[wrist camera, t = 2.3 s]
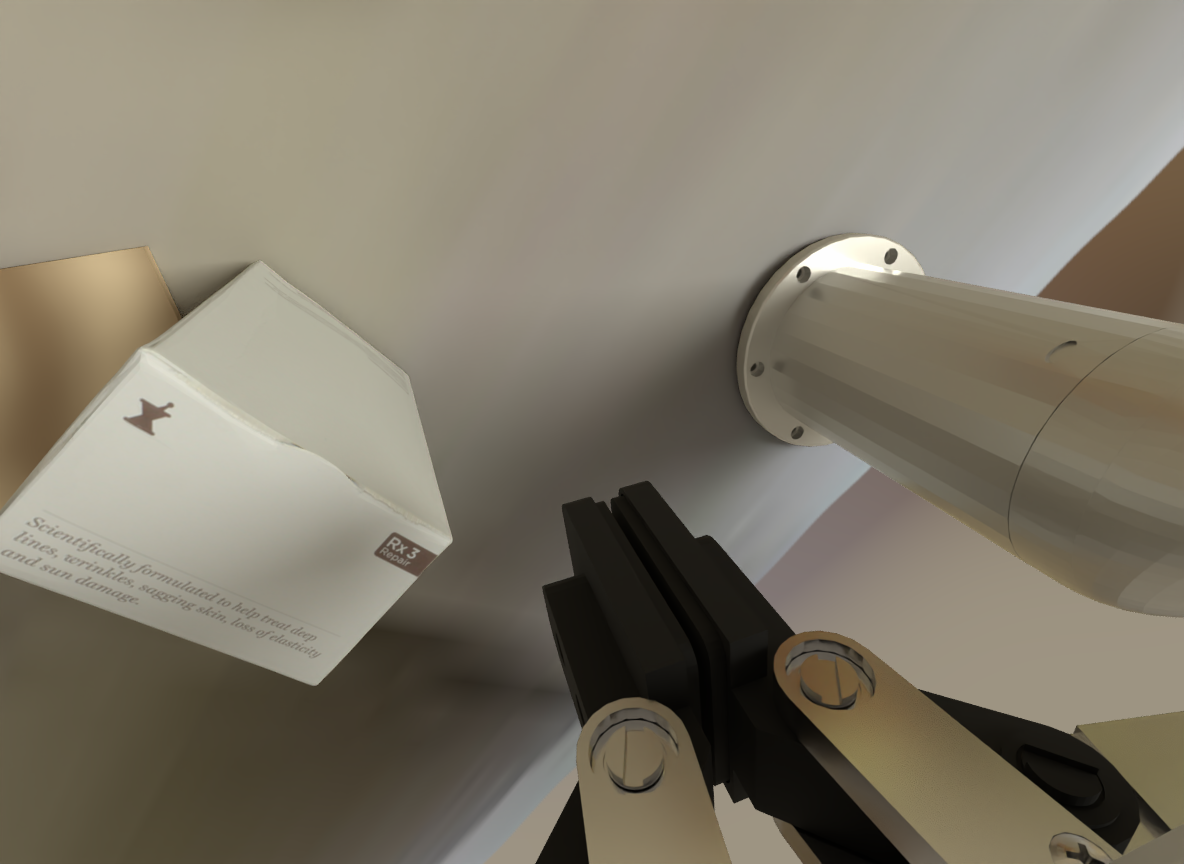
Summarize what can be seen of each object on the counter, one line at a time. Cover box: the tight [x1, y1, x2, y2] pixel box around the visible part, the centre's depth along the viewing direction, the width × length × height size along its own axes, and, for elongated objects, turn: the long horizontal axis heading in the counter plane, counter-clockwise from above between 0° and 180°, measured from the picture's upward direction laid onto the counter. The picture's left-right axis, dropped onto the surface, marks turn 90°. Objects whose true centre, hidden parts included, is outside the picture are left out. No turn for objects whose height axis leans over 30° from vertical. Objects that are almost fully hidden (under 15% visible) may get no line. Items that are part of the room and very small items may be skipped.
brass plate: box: [0, 246, 182, 510], centre depth 23 cm, size 12×12×1 cm
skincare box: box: [0, 260, 453, 686], centre depth 19 cm, size 8×6×15 cm
